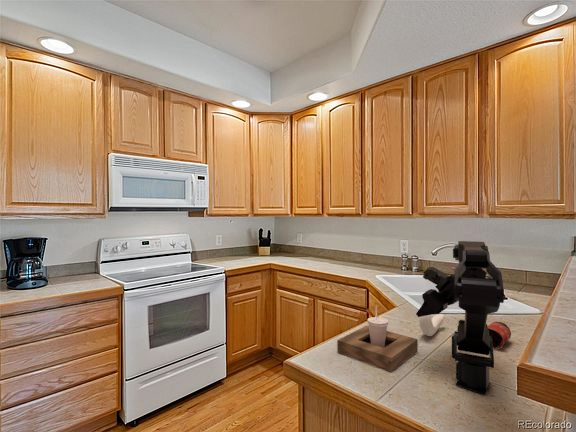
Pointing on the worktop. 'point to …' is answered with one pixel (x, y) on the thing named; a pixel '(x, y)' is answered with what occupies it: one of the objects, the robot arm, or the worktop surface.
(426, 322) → the white curved piece
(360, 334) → the walnut box
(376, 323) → the smoothie
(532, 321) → the worktop surface
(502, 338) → the beverage can
